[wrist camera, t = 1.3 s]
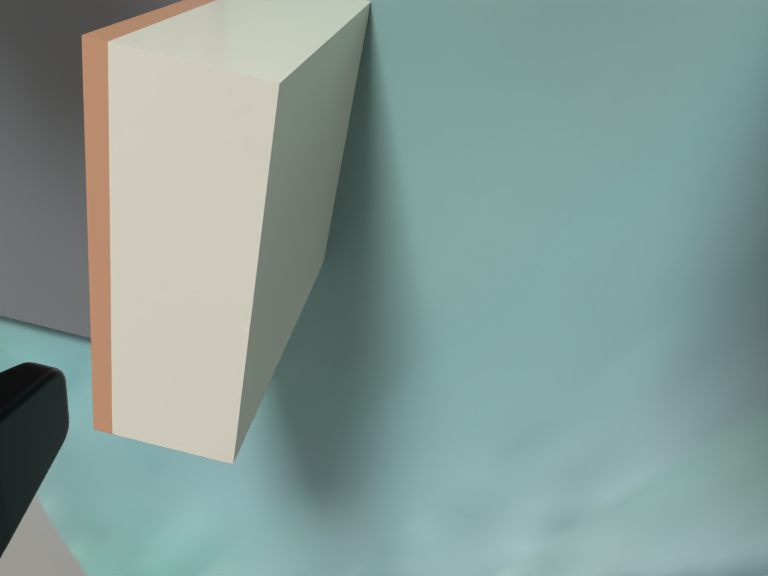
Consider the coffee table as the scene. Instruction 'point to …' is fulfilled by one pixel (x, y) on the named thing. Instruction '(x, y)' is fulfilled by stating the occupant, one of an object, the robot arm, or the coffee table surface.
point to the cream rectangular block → (209, 204)
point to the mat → (47, 157)
